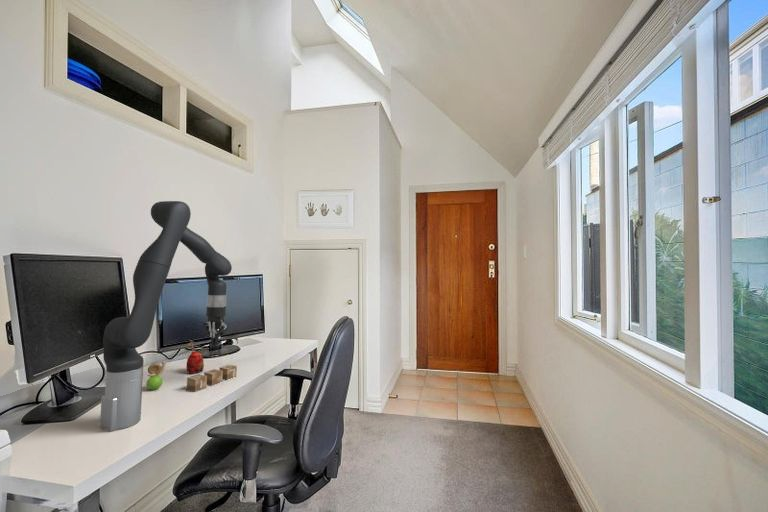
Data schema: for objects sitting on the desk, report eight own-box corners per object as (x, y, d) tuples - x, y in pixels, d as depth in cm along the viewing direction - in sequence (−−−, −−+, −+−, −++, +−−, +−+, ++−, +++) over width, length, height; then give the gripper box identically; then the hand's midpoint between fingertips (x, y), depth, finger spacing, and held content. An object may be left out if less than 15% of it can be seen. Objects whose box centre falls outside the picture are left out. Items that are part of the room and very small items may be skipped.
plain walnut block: (211, 386, 135) (212, 374, 135) (203, 384, 137) (204, 372, 137) (222, 382, 140) (222, 370, 140) (214, 380, 142) (214, 369, 142)
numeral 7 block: (227, 380, 142) (227, 368, 142) (219, 378, 144) (219, 367, 144) (236, 377, 146) (237, 365, 147) (228, 375, 149) (228, 364, 149)
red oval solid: (196, 374, 148) (198, 341, 149) (181, 374, 148) (183, 341, 149) (206, 369, 156) (208, 338, 156) (192, 369, 156) (193, 337, 156)
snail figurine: (166, 388, 131) (168, 358, 131) (147, 393, 126) (149, 362, 127) (163, 385, 135) (164, 356, 135) (144, 389, 130) (146, 359, 130)
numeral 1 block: (195, 392, 128) (195, 379, 128) (186, 390, 130) (187, 377, 130) (206, 388, 133) (207, 375, 133) (198, 386, 135) (198, 373, 135)
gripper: (198, 305, 139) (195, 345, 138) (219, 307, 134) (217, 349, 133) (213, 303, 146) (211, 342, 145) (234, 305, 140) (232, 346, 140)
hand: (214, 345), depth 139 cm, fingers closed
